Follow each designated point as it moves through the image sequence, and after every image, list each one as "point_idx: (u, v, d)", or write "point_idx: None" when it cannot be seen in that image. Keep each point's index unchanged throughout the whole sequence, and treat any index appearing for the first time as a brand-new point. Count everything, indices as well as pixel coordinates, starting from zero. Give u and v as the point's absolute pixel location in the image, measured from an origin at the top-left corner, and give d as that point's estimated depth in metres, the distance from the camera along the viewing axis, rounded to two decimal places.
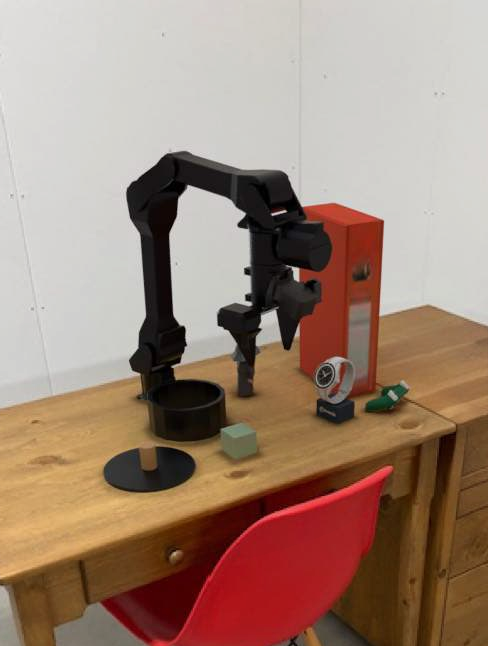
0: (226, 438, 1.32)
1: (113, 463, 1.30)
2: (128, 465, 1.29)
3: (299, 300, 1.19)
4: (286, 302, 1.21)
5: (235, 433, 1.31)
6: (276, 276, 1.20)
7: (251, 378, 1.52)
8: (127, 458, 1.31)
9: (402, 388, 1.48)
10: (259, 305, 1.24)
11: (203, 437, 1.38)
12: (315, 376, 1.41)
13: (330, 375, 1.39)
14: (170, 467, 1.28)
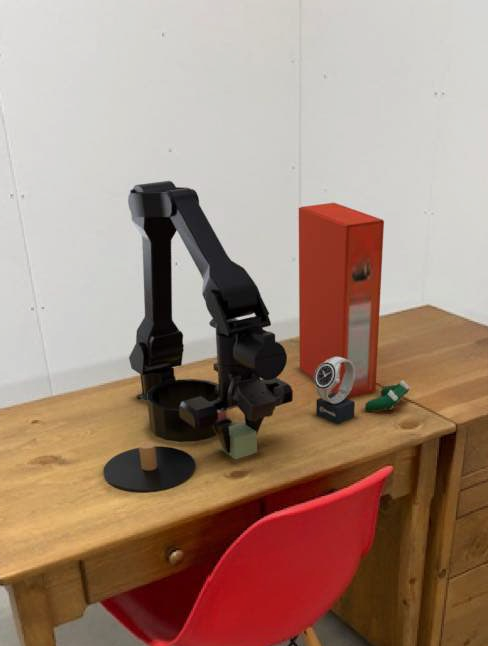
0: None
1: (113, 463, 1.30)
2: (128, 465, 1.29)
3: (252, 404, 1.21)
4: (242, 403, 1.23)
5: (235, 433, 1.31)
6: (236, 377, 1.23)
7: None
8: (127, 458, 1.31)
9: (402, 388, 1.48)
10: (223, 401, 1.27)
11: (203, 437, 1.38)
12: (315, 376, 1.41)
13: (330, 375, 1.39)
14: (170, 467, 1.28)
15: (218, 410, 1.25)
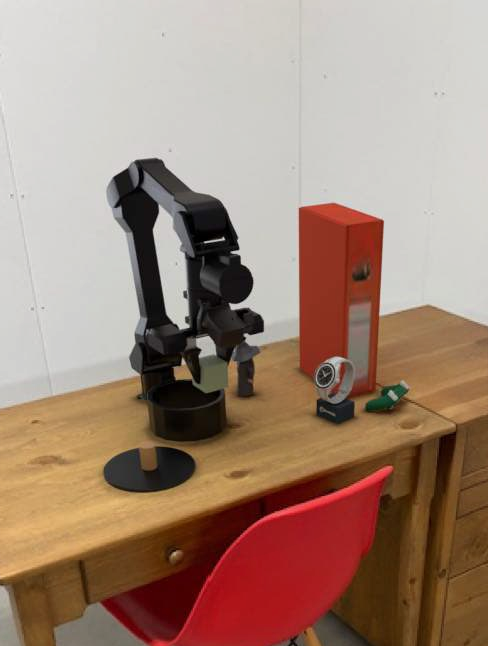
0: None
1: (113, 463, 1.30)
2: (128, 465, 1.29)
3: (221, 329, 1.20)
4: (211, 329, 1.21)
5: (206, 363, 1.30)
6: (206, 303, 1.22)
7: (251, 378, 1.52)
8: (127, 458, 1.31)
9: (402, 388, 1.48)
10: (193, 329, 1.25)
11: (203, 437, 1.38)
12: (315, 376, 1.41)
13: (330, 375, 1.39)
14: (170, 467, 1.28)
15: (187, 338, 1.24)
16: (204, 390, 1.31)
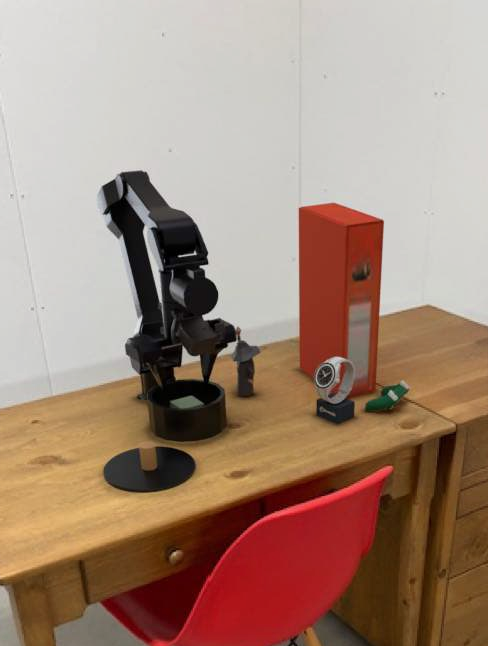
0: None
1: (113, 463, 1.30)
2: (128, 465, 1.29)
3: (192, 338, 1.26)
4: (184, 339, 1.28)
5: (183, 405, 1.39)
6: (179, 314, 1.28)
7: (251, 378, 1.52)
8: (127, 458, 1.31)
9: (402, 388, 1.48)
10: (168, 339, 1.32)
11: (203, 437, 1.38)
12: (315, 376, 1.41)
13: (330, 375, 1.39)
14: (170, 467, 1.28)
15: None
16: None
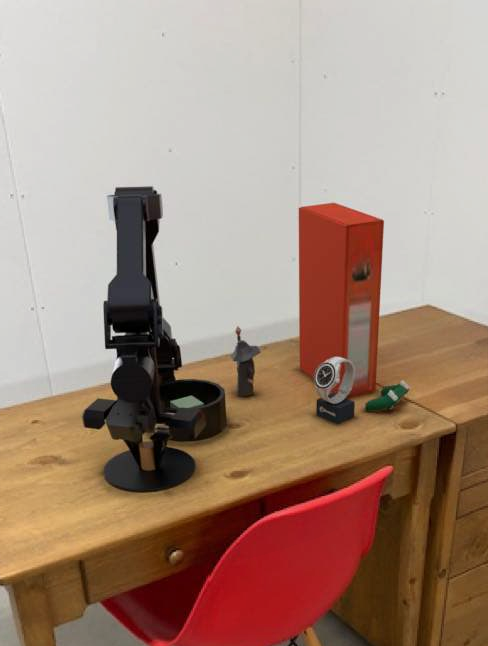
0: None
1: (113, 463, 1.30)
2: (128, 465, 1.29)
3: (107, 421, 1.16)
4: None
5: (183, 405, 1.39)
6: None
7: (251, 378, 1.52)
8: (127, 458, 1.31)
9: (402, 388, 1.48)
10: None
11: (203, 437, 1.38)
12: (315, 376, 1.41)
13: (330, 375, 1.39)
14: (170, 467, 1.28)
15: None
16: None
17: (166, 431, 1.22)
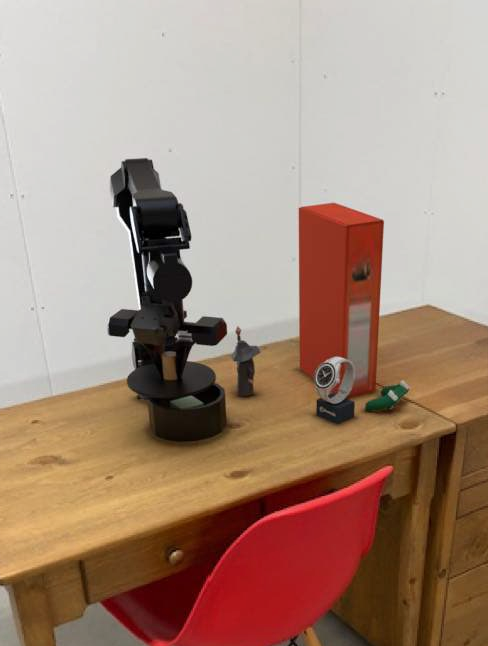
0: None
1: (136, 374, 1.33)
2: (150, 375, 1.33)
3: (132, 324, 1.20)
4: None
5: (183, 405, 1.39)
6: (145, 297, 1.22)
7: (251, 378, 1.52)
8: (149, 370, 1.35)
9: (402, 388, 1.48)
10: None
11: (203, 437, 1.38)
12: (315, 376, 1.41)
13: (330, 375, 1.39)
14: (191, 377, 1.32)
15: None
16: None
17: (189, 338, 1.26)
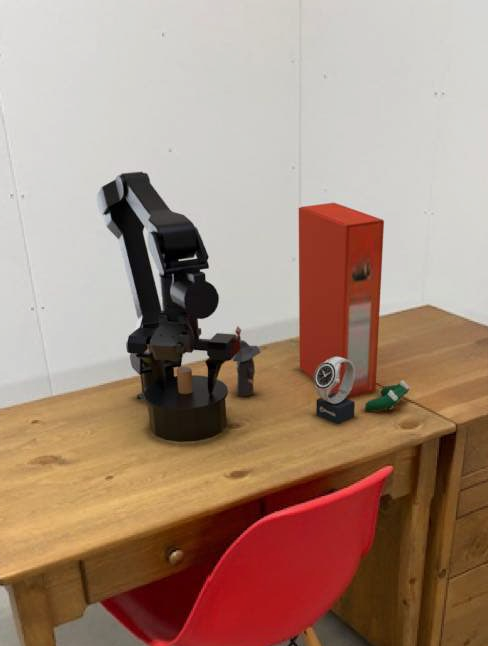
0: None
1: (152, 388, 1.40)
2: (166, 390, 1.40)
3: (151, 341, 1.27)
4: None
5: None
6: (163, 316, 1.29)
7: (251, 378, 1.52)
8: None
9: (402, 388, 1.48)
10: None
11: (203, 437, 1.38)
12: (315, 376, 1.41)
13: (330, 375, 1.39)
14: (205, 391, 1.39)
15: None
16: None
17: None
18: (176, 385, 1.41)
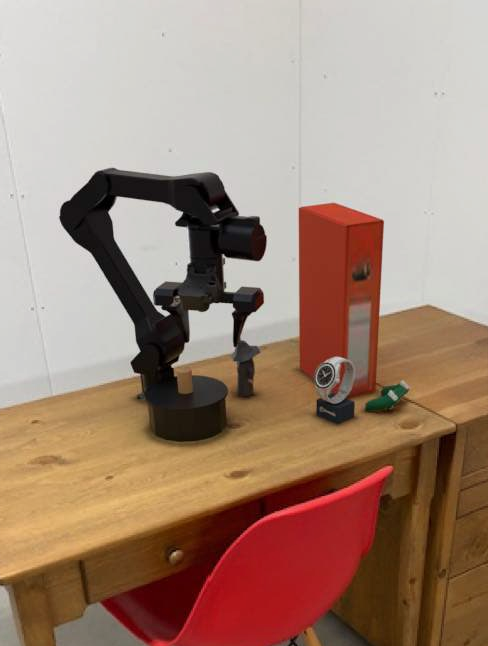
0: None
1: (152, 388, 1.40)
2: (166, 390, 1.40)
3: (179, 292, 1.31)
4: None
5: None
6: (190, 268, 1.33)
7: (251, 378, 1.52)
8: (164, 384, 1.42)
9: (402, 388, 1.48)
10: None
11: (203, 437, 1.38)
12: (315, 376, 1.41)
13: (330, 375, 1.39)
14: (205, 391, 1.39)
15: None
16: None
17: None
18: (176, 385, 1.41)
